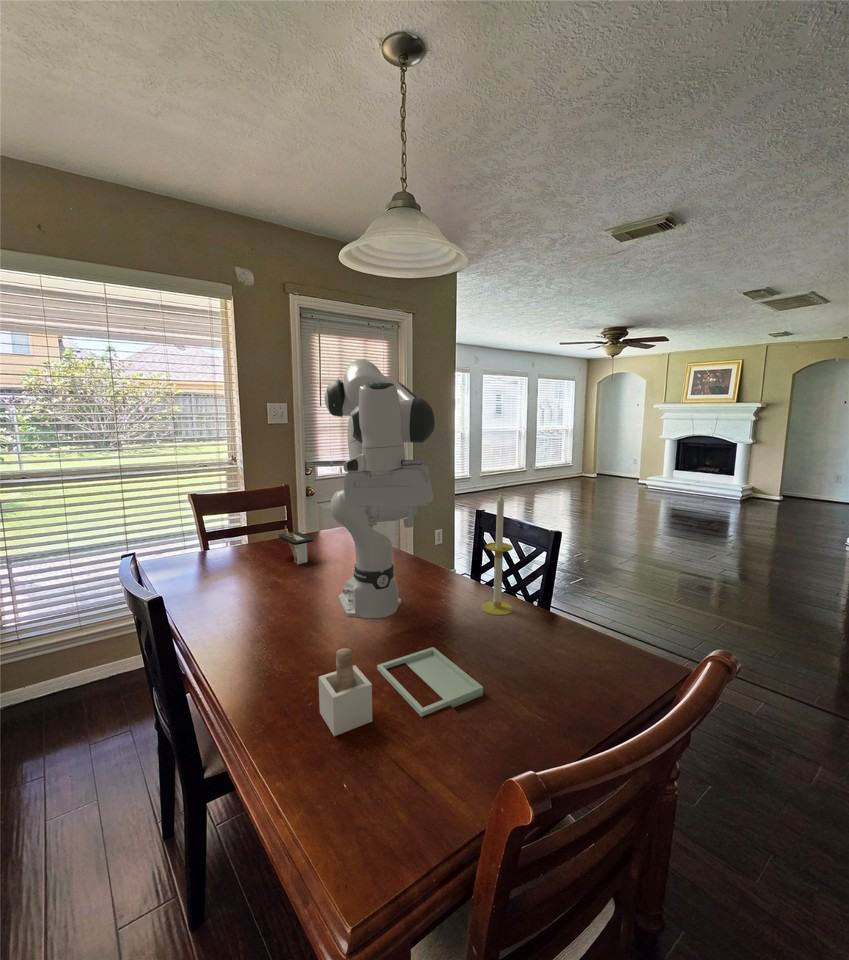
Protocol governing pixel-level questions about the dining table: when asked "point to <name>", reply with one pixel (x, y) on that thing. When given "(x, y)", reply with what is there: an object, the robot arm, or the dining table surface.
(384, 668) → the tray
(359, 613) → the robot arm
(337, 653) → the dowel
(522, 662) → the dining table surface
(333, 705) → the cup
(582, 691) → the dining table surface
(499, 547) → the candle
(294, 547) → the architectural model
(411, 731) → the dining table surface
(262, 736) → the dining table surface
